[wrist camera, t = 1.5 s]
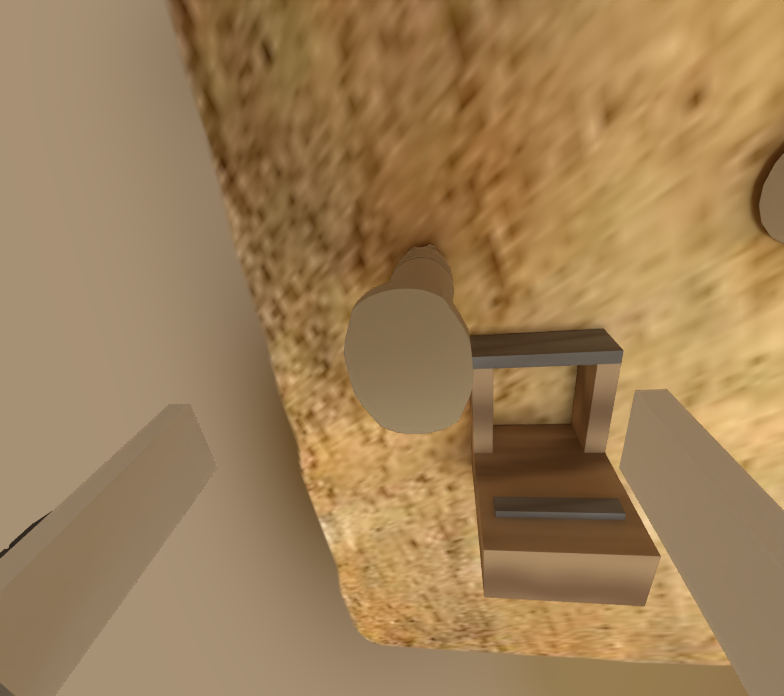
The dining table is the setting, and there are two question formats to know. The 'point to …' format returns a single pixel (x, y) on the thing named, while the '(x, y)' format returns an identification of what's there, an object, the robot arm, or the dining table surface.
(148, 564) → the robot arm
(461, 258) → the dining table surface
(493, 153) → the dining table surface
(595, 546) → the wooden stand
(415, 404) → the handle
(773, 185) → the can
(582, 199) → the dining table surface
